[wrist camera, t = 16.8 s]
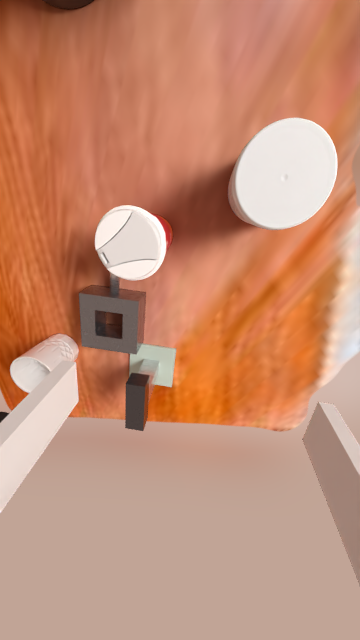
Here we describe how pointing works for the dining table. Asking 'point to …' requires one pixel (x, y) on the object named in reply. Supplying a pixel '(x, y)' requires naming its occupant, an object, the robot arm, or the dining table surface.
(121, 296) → the block
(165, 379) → the mat
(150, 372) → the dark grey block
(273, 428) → the dining table surface
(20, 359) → the white cup
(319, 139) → the supplement tub
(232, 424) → the dining table surface
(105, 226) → the coffee cup
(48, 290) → the dining table surface
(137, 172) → the dining table surface
